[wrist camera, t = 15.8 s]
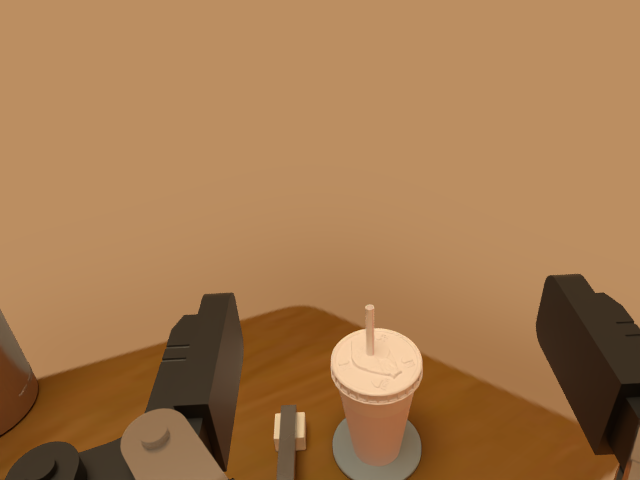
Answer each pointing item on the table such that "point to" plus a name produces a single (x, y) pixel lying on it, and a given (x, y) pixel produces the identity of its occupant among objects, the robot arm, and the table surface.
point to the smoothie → (376, 388)
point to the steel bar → (287, 443)
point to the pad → (367, 476)
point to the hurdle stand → (300, 431)
